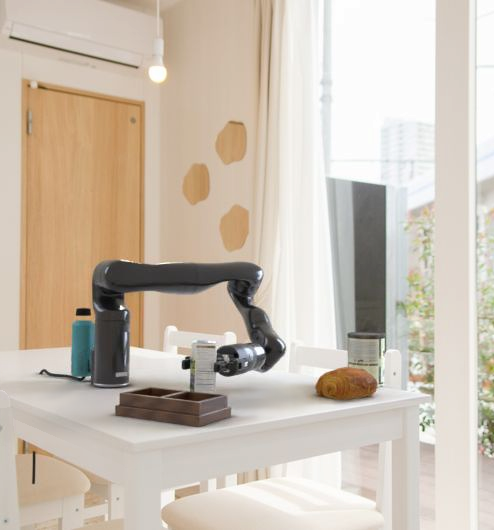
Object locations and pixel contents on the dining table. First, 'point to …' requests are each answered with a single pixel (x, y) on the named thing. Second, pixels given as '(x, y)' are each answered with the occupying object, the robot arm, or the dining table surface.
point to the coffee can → (367, 353)
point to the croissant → (346, 384)
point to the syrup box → (203, 366)
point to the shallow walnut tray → (173, 406)
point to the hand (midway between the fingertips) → (198, 366)
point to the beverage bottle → (82, 344)
